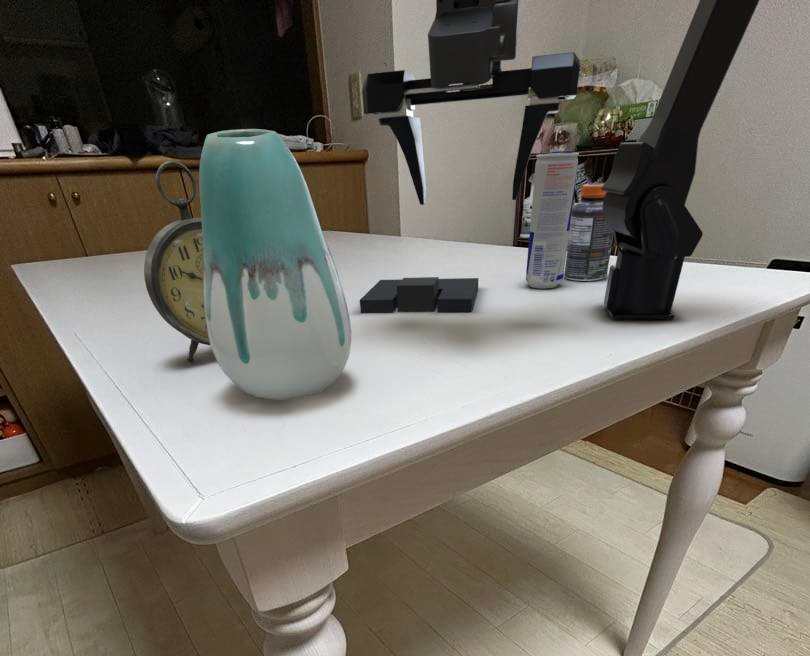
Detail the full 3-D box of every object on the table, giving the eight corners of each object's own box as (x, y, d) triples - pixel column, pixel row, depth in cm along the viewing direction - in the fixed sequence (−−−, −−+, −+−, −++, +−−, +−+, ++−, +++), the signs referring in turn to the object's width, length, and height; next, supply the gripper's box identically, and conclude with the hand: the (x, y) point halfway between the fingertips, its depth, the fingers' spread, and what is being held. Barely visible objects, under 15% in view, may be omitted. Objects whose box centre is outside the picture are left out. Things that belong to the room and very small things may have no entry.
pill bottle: (601, 272, 77) (617, 180, 70) (610, 281, 72) (627, 183, 65) (560, 274, 77) (572, 182, 70) (566, 282, 72) (579, 185, 66)
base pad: (478, 289, 72) (478, 277, 71) (471, 312, 62) (471, 298, 61) (381, 291, 74) (380, 279, 73) (360, 312, 65) (359, 299, 64)
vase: (337, 414, 40) (296, 118, 29) (200, 411, 42) (114, 132, 31) (369, 364, 49) (347, 124, 38) (255, 363, 51) (203, 134, 40)
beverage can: (564, 281, 73) (581, 149, 64) (560, 290, 69) (577, 150, 60) (527, 281, 74) (539, 152, 65) (522, 289, 70) (533, 153, 61)
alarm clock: (182, 370, 50) (109, 168, 40) (169, 356, 54) (98, 168, 44) (284, 342, 55) (241, 153, 45) (265, 331, 58) (221, 154, 48)
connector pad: (438, 302, 67) (438, 277, 65) (434, 311, 64) (433, 285, 62) (404, 302, 68) (403, 277, 66) (397, 311, 64) (396, 285, 62)
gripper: (331, -35, 37) (356, 216, 47) (599, -75, 34) (567, 205, 43) (370, -3, 46) (385, 203, 56) (587, -32, 42) (563, 194, 52)
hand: (467, 202), depth 51 cm, fingers open, 9 cm apart
